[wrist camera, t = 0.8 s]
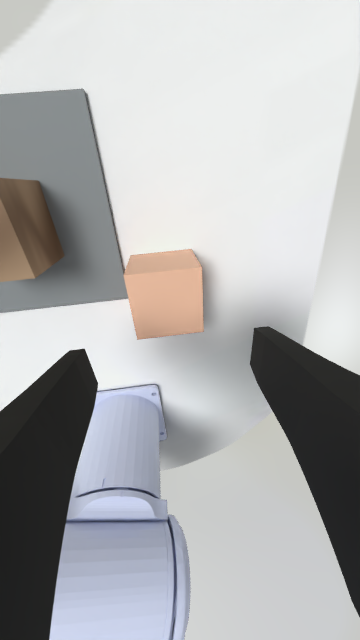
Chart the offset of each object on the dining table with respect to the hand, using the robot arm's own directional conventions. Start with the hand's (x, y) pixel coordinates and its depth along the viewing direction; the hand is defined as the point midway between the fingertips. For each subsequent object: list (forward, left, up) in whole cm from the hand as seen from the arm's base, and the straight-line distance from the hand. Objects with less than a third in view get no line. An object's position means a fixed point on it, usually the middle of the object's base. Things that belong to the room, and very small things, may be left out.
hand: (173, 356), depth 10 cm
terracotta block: (0, 0, -9) cm, 9 cm away
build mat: (+5, +9, -9) cm, 14 cm away
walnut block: (+5, +9, -9) cm, 14 cm away
